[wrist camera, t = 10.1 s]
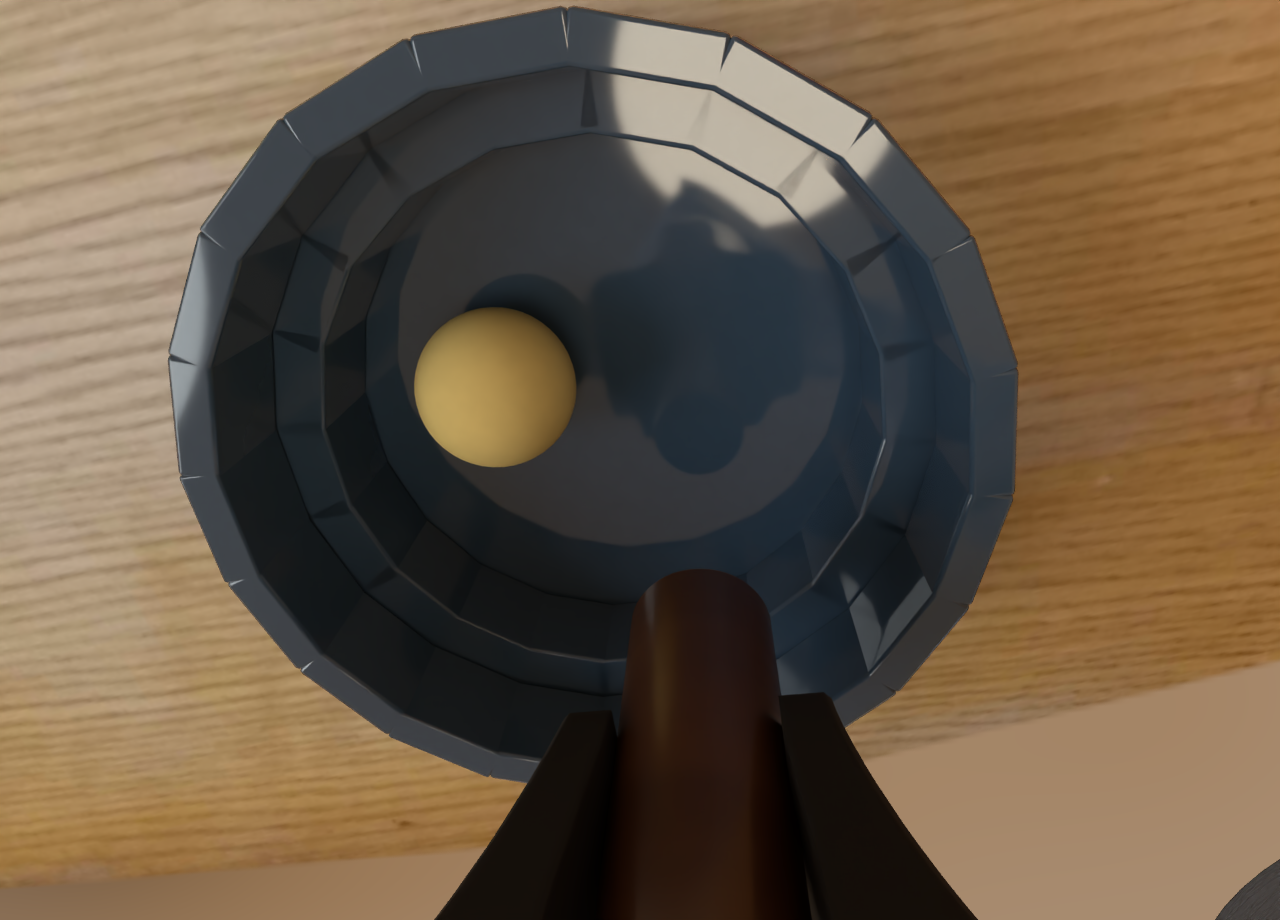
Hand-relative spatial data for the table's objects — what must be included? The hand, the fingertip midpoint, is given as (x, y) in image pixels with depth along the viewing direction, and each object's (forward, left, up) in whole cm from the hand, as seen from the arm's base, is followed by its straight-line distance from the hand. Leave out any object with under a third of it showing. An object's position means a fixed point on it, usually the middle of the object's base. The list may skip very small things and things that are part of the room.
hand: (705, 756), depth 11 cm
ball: (+4, +3, -6) cm, 8 cm away
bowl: (+3, +2, -8) cm, 9 cm away
